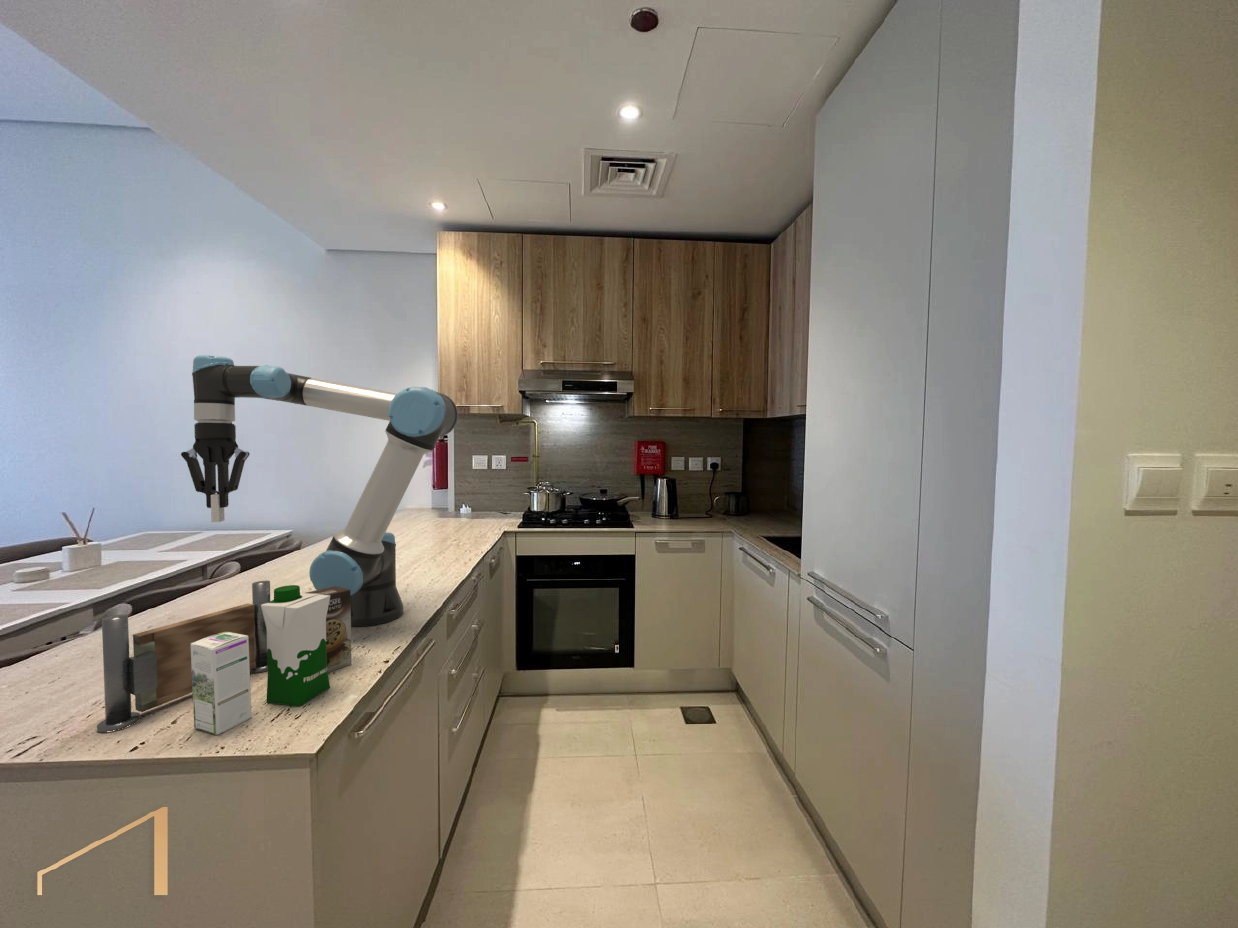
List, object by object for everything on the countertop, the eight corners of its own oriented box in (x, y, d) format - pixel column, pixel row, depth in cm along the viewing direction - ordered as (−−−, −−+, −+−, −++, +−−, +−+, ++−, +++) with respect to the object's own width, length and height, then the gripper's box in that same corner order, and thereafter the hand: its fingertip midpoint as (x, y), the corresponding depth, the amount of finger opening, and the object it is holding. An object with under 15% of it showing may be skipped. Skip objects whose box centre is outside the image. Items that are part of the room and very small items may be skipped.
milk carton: (298, 681, 95) (296, 580, 95) (338, 686, 94) (336, 583, 93) (257, 704, 87) (254, 594, 86) (300, 710, 85) (297, 597, 84)
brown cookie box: (307, 681, 95) (305, 600, 95) (291, 673, 99) (289, 595, 98) (353, 663, 103) (351, 588, 103) (336, 657, 107) (335, 584, 106)
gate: (249, 666, 100) (248, 603, 99) (255, 667, 99) (254, 604, 99) (135, 709, 83) (132, 634, 83) (141, 712, 82) (139, 636, 82)
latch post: (142, 709, 85) (138, 608, 85) (158, 715, 83) (155, 612, 83) (90, 728, 79) (86, 620, 79) (106, 736, 77) (102, 624, 77)
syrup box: (253, 717, 83) (251, 633, 82) (214, 736, 77) (212, 647, 77) (230, 711, 85) (228, 629, 84) (191, 730, 79) (188, 642, 78)
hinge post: (268, 660, 105) (266, 578, 104) (283, 664, 103) (281, 580, 102) (242, 670, 100) (240, 584, 99) (257, 675, 98) (255, 587, 97)
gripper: (254, 423, 120) (256, 518, 121) (190, 422, 117) (193, 520, 117) (240, 422, 113) (243, 522, 114) (172, 421, 109) (175, 525, 110)
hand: (218, 521), depth 116 cm, fingers closed
